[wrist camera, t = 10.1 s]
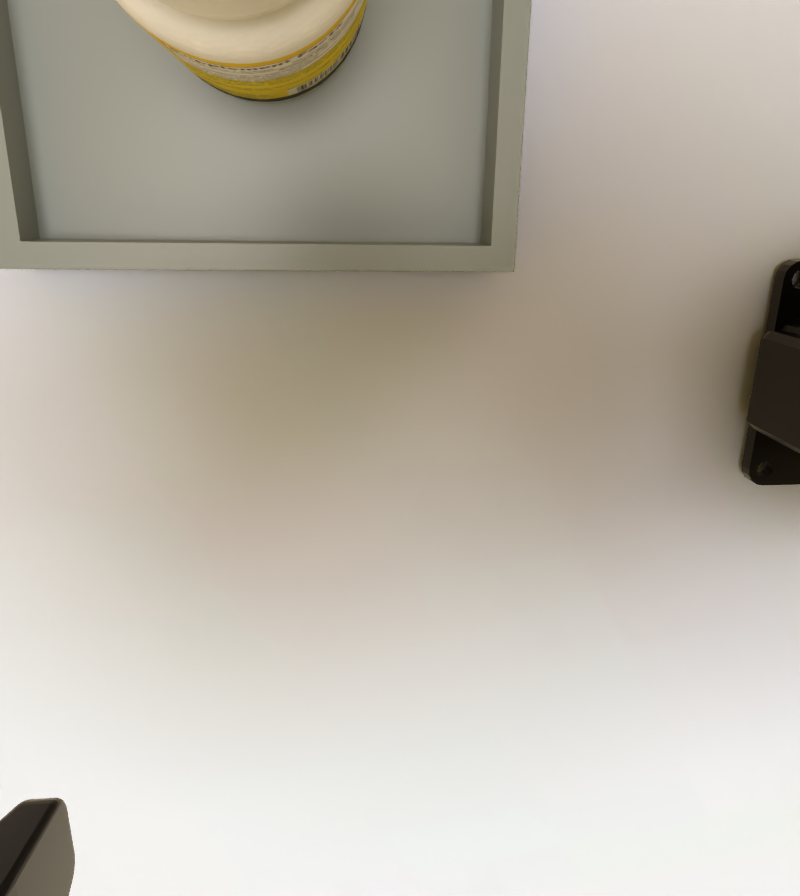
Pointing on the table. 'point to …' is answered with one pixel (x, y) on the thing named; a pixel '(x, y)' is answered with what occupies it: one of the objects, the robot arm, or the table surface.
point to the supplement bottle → (254, 41)
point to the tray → (262, 147)
